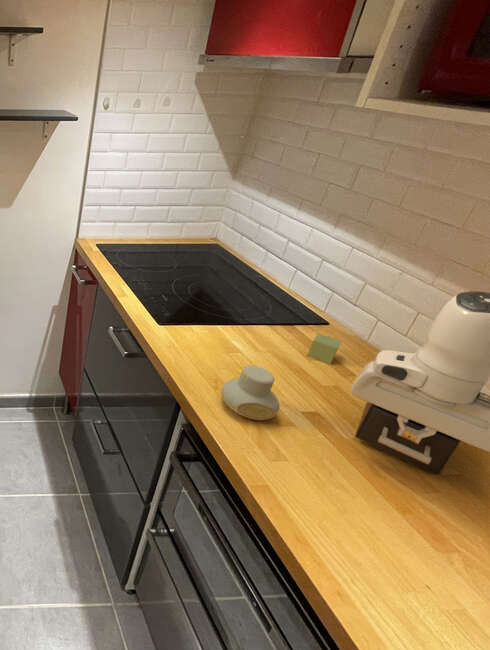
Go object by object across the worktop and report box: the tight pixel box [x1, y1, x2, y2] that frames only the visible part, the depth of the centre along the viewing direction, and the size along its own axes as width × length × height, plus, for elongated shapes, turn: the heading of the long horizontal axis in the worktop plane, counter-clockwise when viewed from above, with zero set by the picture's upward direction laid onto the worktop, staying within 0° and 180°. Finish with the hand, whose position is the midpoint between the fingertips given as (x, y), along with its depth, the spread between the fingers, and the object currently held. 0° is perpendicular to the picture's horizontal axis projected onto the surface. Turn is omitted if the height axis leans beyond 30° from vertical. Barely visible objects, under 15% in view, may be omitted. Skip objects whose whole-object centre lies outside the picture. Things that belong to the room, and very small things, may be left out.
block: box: [307, 333, 342, 365], centre depth 118 cm, size 5×5×5 cm
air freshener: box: [221, 365, 280, 421], centre depth 98 cm, size 11×8×10 cm
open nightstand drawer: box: [358, 406, 456, 475], centre depth 89 cm, size 18×11×8 cm, turn 132°
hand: (407, 437), depth 83 cm, fingers closed
